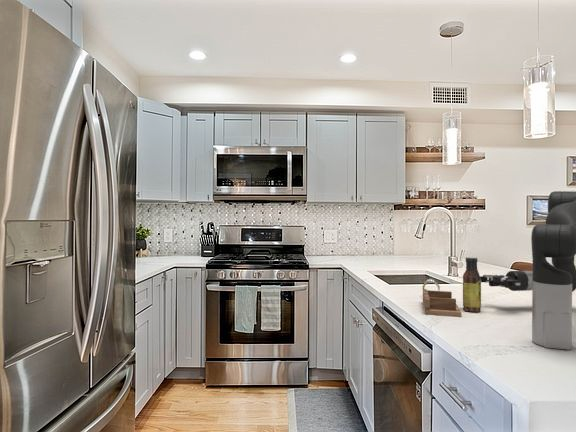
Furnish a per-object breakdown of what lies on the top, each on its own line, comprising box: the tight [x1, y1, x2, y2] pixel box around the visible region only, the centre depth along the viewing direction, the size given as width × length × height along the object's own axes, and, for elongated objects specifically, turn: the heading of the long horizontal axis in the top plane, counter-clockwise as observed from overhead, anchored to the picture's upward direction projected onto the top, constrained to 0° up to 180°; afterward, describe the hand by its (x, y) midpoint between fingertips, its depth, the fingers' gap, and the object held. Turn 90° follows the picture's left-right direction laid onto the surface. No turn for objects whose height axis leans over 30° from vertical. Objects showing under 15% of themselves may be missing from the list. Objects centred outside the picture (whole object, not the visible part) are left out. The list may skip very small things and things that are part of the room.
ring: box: [422, 278, 441, 291], centre depth 171 cm, size 7×3×8 cm, turn 58°
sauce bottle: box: [462, 256, 482, 313], centre depth 147 cm, size 6×6×20 cm
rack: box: [422, 288, 462, 318], centre depth 150 cm, size 20×12×6 cm, turn 164°
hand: (482, 281), depth 148 cm, fingers open, 8 cm apart
